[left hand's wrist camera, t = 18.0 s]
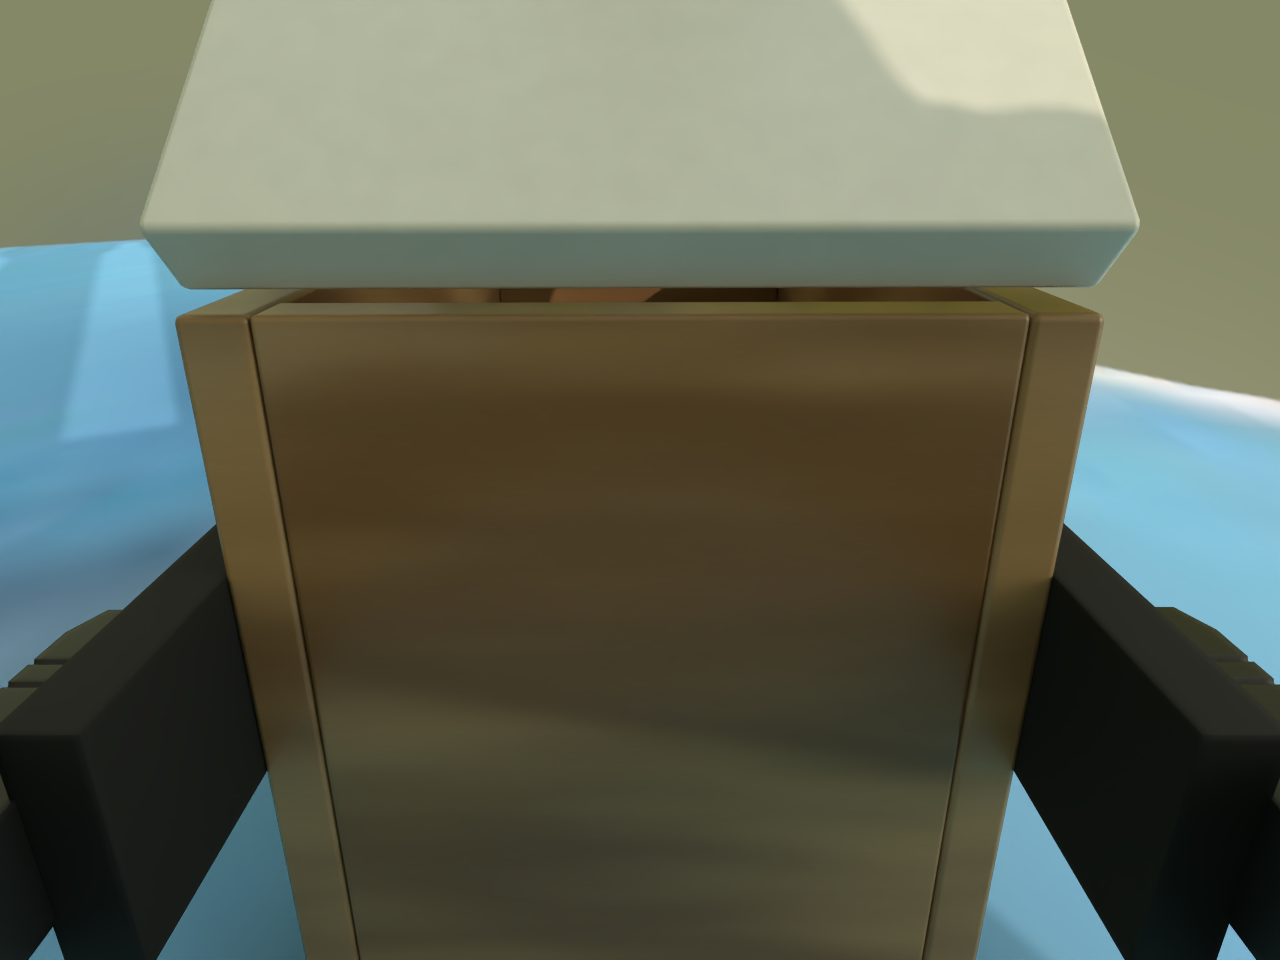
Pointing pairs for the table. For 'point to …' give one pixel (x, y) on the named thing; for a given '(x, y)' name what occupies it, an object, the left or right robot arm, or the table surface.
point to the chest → (640, 606)
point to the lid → (638, 147)
